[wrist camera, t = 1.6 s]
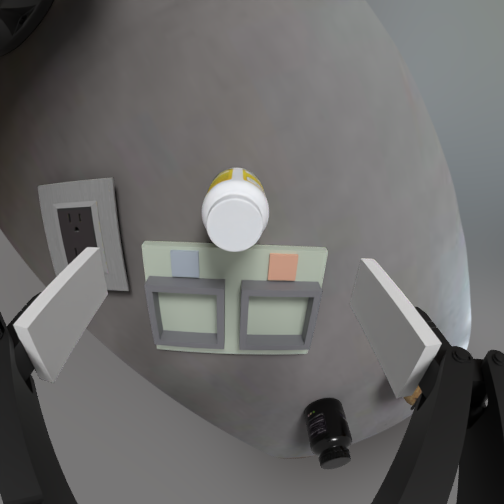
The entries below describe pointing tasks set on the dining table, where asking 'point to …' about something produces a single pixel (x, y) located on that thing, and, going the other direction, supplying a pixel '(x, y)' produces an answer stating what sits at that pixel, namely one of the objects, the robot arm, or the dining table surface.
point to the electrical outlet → (84, 225)
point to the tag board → (233, 297)
